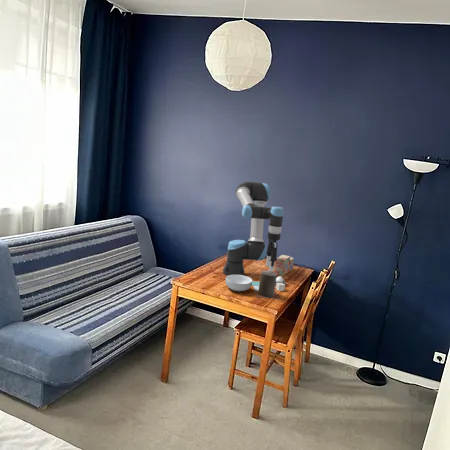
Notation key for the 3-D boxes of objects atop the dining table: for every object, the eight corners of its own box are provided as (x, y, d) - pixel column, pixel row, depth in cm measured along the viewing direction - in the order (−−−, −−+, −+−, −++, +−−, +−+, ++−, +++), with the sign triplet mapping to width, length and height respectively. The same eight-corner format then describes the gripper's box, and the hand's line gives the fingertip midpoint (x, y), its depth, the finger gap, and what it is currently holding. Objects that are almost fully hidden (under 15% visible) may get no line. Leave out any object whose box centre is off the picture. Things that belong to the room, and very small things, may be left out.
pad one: (255, 290, 260) (255, 290, 260) (253, 286, 268) (253, 285, 268) (269, 291, 261) (269, 291, 261) (266, 287, 269) (266, 286, 269)
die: (278, 291, 264) (279, 285, 264) (275, 288, 268) (276, 282, 267) (284, 290, 266) (284, 284, 265) (281, 288, 269) (282, 282, 269)
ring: (257, 297, 249) (257, 296, 249) (254, 289, 261) (254, 289, 261) (278, 298, 250) (278, 298, 250) (274, 291, 263) (274, 290, 263)
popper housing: (275, 285, 274) (275, 282, 274) (272, 281, 281) (273, 278, 280) (285, 286, 275) (285, 282, 274) (283, 282, 282) (283, 279, 281)
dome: (276, 284, 275) (277, 277, 274) (274, 281, 280) (275, 275, 279) (283, 284, 276) (284, 278, 275) (282, 282, 280) (282, 275, 280)
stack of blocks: (284, 267, 318) (287, 252, 316) (292, 269, 316) (294, 254, 313) (274, 273, 300) (276, 257, 297) (282, 276, 297) (284, 259, 294)
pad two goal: (250, 285, 268) (250, 285, 268) (248, 281, 277) (248, 280, 277) (264, 286, 269) (264, 286, 269) (261, 282, 278) (262, 281, 278)
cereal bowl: (223, 283, 266) (224, 273, 265) (249, 285, 268) (250, 275, 266) (225, 293, 250) (226, 282, 248) (252, 295, 251) (254, 284, 250)
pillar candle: (261, 297, 250) (264, 273, 247) (255, 291, 259) (259, 268, 256) (276, 297, 253) (279, 273, 250) (270, 291, 262) (273, 268, 259)
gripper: (284, 237, 238) (279, 274, 243) (276, 229, 259) (271, 264, 264) (272, 236, 237) (267, 273, 242) (264, 228, 258) (260, 263, 263)
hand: (269, 268), depth 253 cm, fingers open, 9 cm apart
